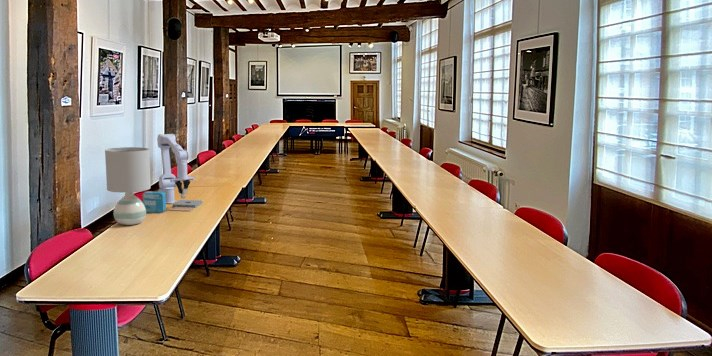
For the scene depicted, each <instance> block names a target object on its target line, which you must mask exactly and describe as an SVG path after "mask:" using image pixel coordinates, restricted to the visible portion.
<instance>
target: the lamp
mask: <svg viewBox="0 0 712 356" xmlns="http://www.w3.org/2000/svg"><path fill="white" fill-rule="evenodd" d="M104 154H105V155H104V156H105V176H106V190H107V191H108V192H111V193H124V196H122V197H121V198H120V199H119V200H118V201H117V203H115V204H116V205H115V206H114V208H113V218H114V220H115V221H116V222H117V223H118V224H119V225H122V226H123V225H124V226H134V225H135V226H136V225H138V224H140V223H142V222H143V221H144V220H145V219H146V216H147V213H146V208H145V206H144V204H143V200H141V198H139V197H137V196H136V195H135V194H134V193H137V192H144V191H149V190H150V189H151V164H150V163H151V162H150V149H149V148H147V147H139V146H136V147H135V146H125V147H124V146H123V147H121V146H120V147H110V148H105V149H104Z"/></svg>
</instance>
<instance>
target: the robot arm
mask: <svg viewBox="0 0 712 356" xmlns="http://www.w3.org/2000/svg"><path fill="white" fill-rule="evenodd" d="M176 138H177V137H176V134H174V133H167V134H166V133H165V134H161V133H159V134H157V139H156V140H157V147H158V148H159V149H160V155H161V165H162V174H161V175H160V176H159V177H158V186H159V188H158V191H157V192H164V193H165V194H166V205H167V204H168V205H169V204H171V205H173V204H174V203H176V202H177V200H176V199H175V189H176V187H177V191H178V190H179V192H178V194H181V193H182V187H183V188H186V189H189V186H190V183H191V181H195V176H188V160H189V152H188V151H187V150H185V149H183V147H182V146H181V145H180V144H178V143H177V142H176ZM170 148H171V151H172V153H173V154H174V158H175V162H176V170H177V171H176V172H177V176H176V175H175V174H173V173H172V168H171V157H170Z"/></svg>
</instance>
